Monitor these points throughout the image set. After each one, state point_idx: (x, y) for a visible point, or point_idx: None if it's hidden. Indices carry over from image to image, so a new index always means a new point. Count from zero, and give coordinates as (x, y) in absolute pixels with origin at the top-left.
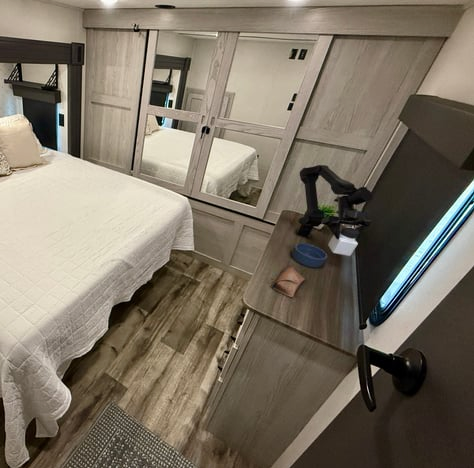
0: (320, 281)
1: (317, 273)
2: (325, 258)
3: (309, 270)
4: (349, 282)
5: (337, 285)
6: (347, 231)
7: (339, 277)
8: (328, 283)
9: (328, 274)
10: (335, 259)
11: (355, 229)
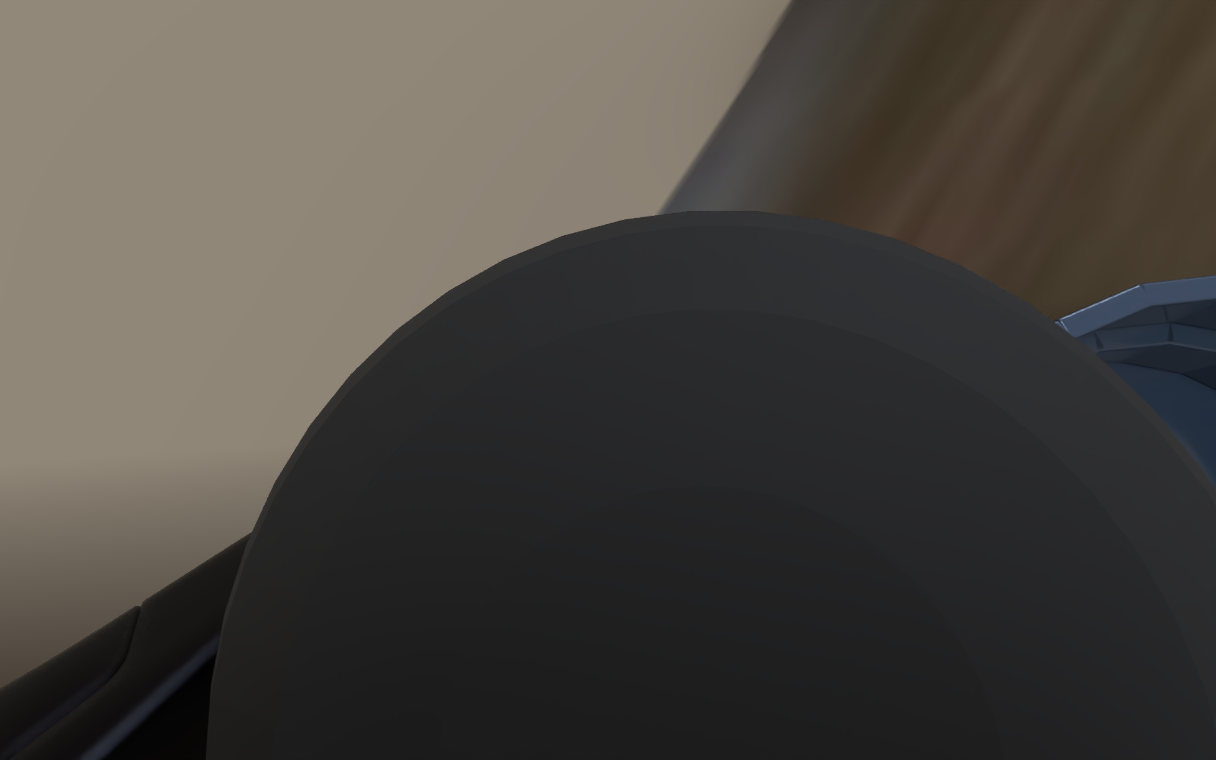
0: (1145, 34)
1: (1103, 200)
2: (1058, 323)
3: (1202, 249)
4: (739, 96)
5: (942, 5)
6: (1171, 455)
7: (814, 171)
8: (1048, 17)
9: (940, 207)
10: None
11: (394, 708)
